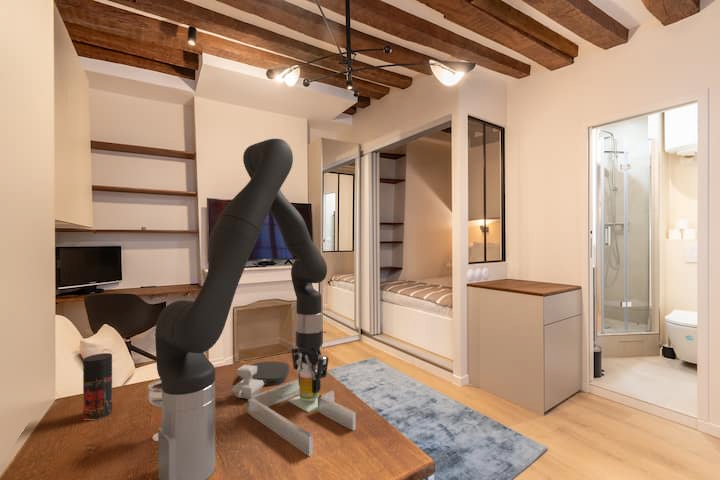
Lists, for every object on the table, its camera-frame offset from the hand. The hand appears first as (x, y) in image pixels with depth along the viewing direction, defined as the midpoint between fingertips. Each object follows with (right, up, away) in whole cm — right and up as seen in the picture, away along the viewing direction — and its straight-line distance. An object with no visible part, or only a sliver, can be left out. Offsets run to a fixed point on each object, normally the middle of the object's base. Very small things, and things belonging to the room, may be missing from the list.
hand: (309, 388), depth 94 cm
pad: (0, -4, 0) cm, 4 cm away
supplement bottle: (0, -2, 0) cm, 2 cm away
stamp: (-18, -4, +4) cm, 19 cm away
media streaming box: (-17, -4, +18) cm, 25 cm away
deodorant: (-54, -4, -6) cm, 55 cm away
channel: (0, -4, -8) cm, 9 cm away
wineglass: (-31, -4, -16) cm, 35 cm away
